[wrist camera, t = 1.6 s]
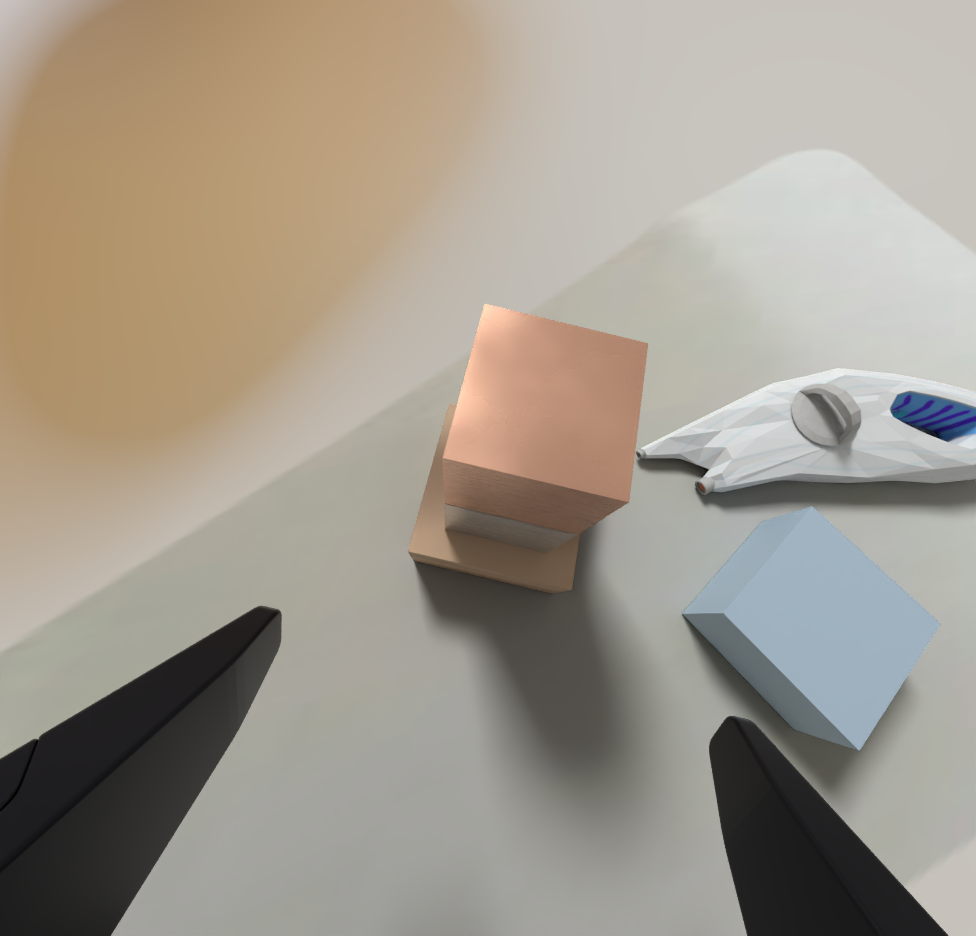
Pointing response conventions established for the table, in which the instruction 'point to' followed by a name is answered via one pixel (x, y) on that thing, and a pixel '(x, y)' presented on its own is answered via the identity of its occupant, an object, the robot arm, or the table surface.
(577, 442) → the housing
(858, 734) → the stand
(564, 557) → the stand
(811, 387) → the spaceship
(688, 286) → the table surface
